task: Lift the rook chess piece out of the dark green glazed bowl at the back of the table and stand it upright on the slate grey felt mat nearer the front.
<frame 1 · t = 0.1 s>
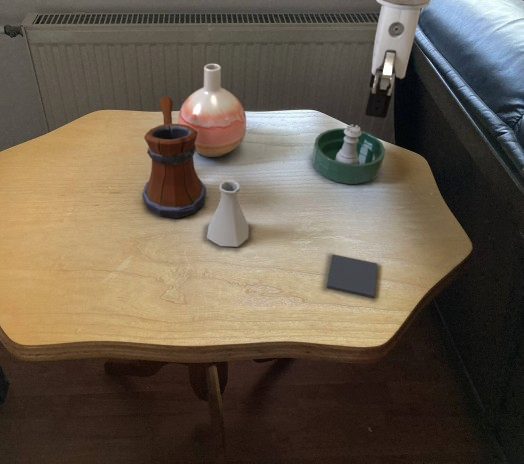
hand: (377, 101, 83), 18 cm above the table, tool pointing down, fingers open, 9 cm apart
bowl: (345, 165, 101), on the table
mat: (352, 276, 79), on the table
rook chess piece: (345, 164, 101), resting on bowl
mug: (173, 189, 96), on the table
flask: (227, 234, 86), on the table
vase: (211, 149, 106), on the table
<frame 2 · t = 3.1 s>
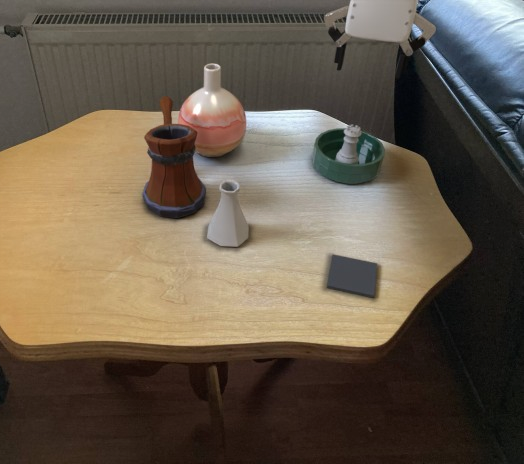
hand: (368, 71, 87), 20 cm above the table, tool pointing down, fingers open, 9 cm apart
nothing on the table moved.
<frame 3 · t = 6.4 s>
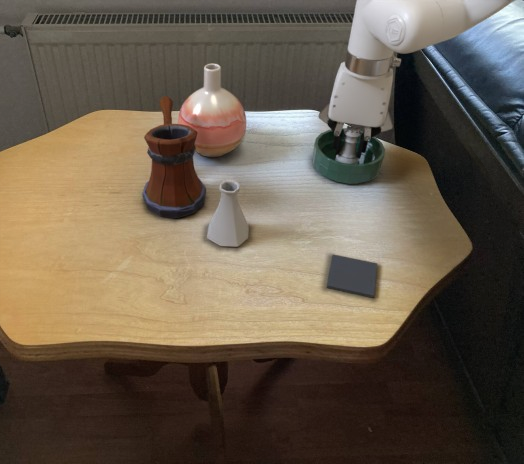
hand: (348, 152, 99), 3 cm above the table, tool pointing down, fingers closed on rook chess piece, 3 cm apart
rook chess piece: (345, 164, 101), resting on bowl, touching gripper
everything else where it was.
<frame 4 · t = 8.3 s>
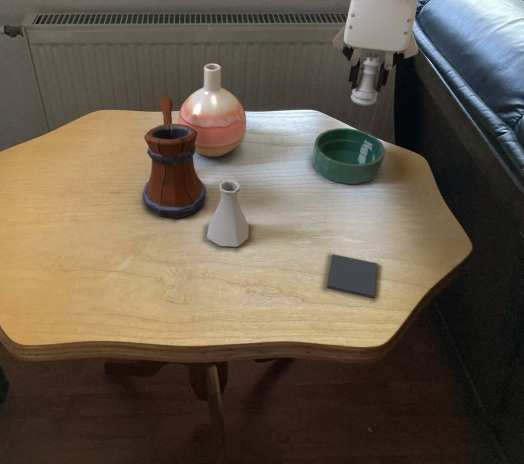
hand: (366, 86, 88), 18 cm above the table, tool pointing down, fingers closed on rook chess piece, 3 cm apart
rook chess piece: (362, 101, 89), point 15 cm above the table, touching gripper
everything else where it was.
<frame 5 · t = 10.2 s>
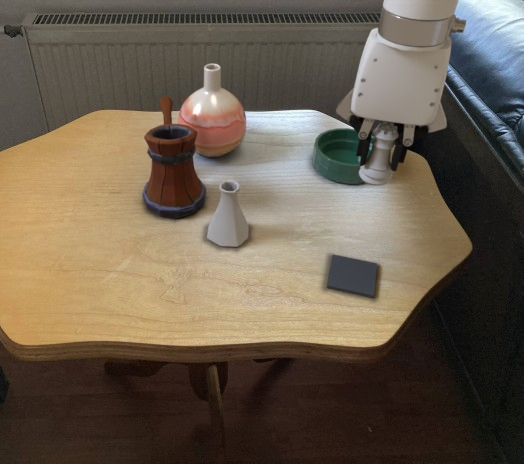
hand: (378, 161, 69), 19 cm above the table, tool pointing down, fingers closed on rook chess piece, 3 cm apart
rook chess piece: (374, 178, 71), point 16 cm above the table, touching gripper
everything else where it was.
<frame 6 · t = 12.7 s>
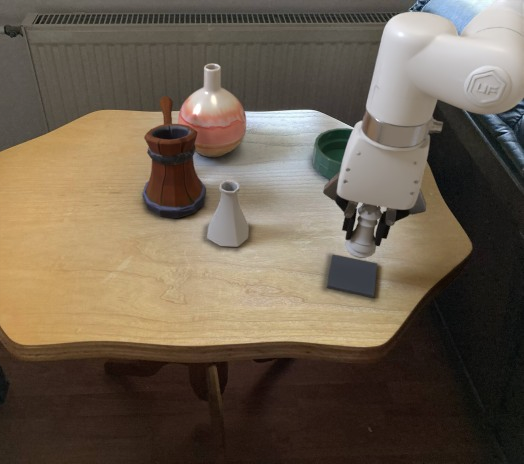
hand: (363, 235, 73), 9 cm above the table, tool pointing down, fingers closed on rook chess piece, 3 cm apart
rook chess piece: (359, 249, 75), point 6 cm above the table, touching gripper
everything else where it was.
when the fingers open (3 cm above the table, at t = 14.3 s): rook chess piece stays where it is, resting on mat.
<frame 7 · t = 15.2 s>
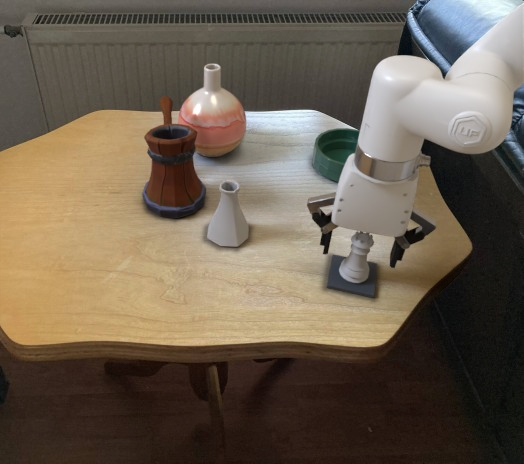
hand: (358, 254, 76), 5 cm above the table, tool pointing down, fingers open, 9 cm apart
rook chess piece: (352, 275, 79), resting on mat
everything else where it was.
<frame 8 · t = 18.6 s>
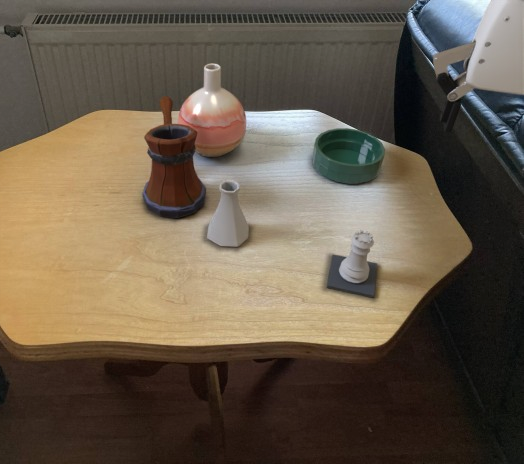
hand: (489, 133, 61), 26 cm above the table, tool pointing down, fingers open, 9 cm apart
nothing on the table moved.
at the end: rook chess piece 0.1 cm off-centre on the mat, point 0.4 cm above the mat's base; rook chess piece tilted 0°; rook chess piece touching mat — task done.
